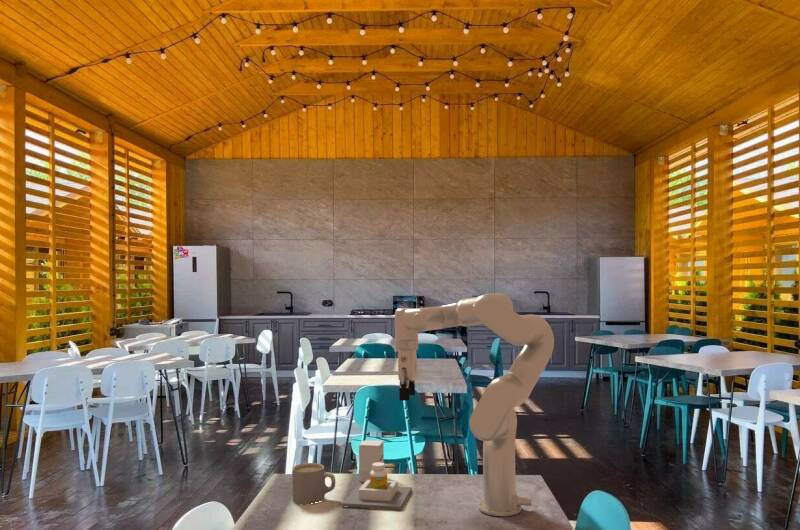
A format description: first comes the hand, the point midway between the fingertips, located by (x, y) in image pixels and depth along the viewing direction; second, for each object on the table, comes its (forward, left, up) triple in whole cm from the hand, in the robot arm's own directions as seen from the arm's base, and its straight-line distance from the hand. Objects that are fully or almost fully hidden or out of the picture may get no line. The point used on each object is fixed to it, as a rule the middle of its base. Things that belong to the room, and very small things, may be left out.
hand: (407, 397), depth 205 cm
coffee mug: (+28, +13, -31) cm, 43 cm away
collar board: (+8, +9, -30) cm, 33 cm away
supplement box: (+15, -10, -31) cm, 35 cm away
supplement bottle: (+8, +9, -29) cm, 32 cm away
